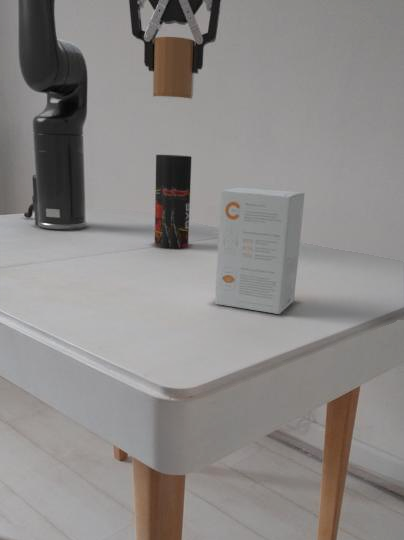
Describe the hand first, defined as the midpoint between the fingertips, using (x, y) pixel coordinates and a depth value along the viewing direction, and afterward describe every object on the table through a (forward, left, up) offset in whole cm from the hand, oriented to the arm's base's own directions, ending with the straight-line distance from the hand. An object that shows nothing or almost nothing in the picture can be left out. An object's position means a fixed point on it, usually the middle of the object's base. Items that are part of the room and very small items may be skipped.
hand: (173, 71), depth 88 cm
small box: (+28, -21, -28) cm, 44 cm away
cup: (0, 0, -4) cm, 4 cm away
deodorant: (-1, +2, -28) cm, 28 cm away
